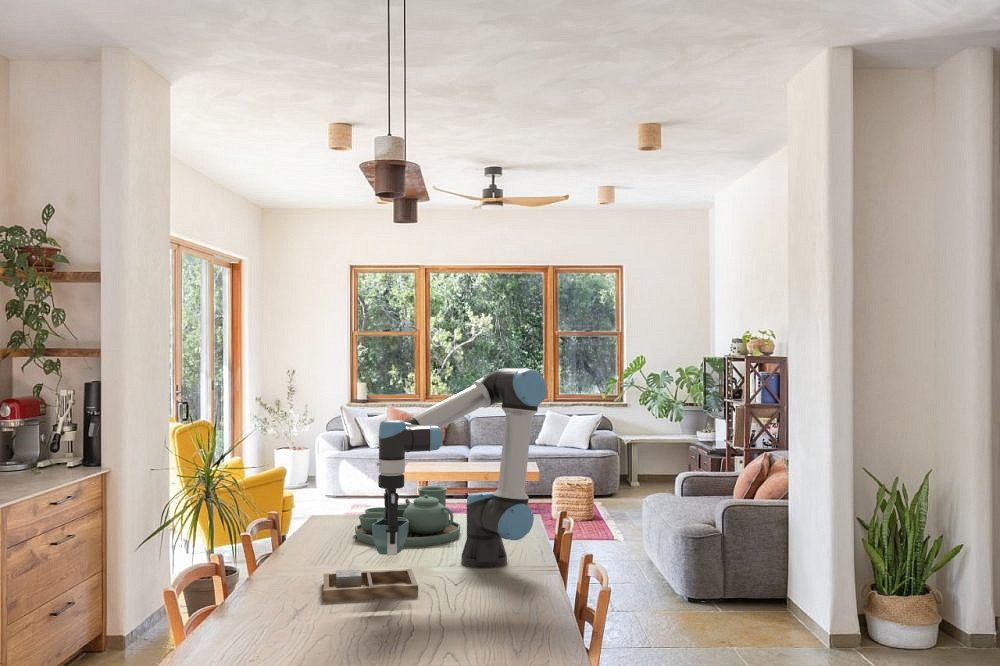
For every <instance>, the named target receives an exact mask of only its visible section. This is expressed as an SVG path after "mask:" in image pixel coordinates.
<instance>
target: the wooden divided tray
mask: <svg viewBox="0 0 1000 666" xmlns="http://www.w3.org/2000/svg"><path fill="white" fill-rule="evenodd" d="M361 576H362V579H361V587H351V588H336V572H323V597H322V598H323V602H324V603H325V602H339V601H340V602H341V601H358V600H377V599H396V598H397V599H398V598H411V597H413V598H414V597H419V584H418V582H417V579H416V576H415V574H414V572H413V569H412V568H404V569H401V568H400V569H385V570H384V569H382V570H364V571H361Z"/></svg>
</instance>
